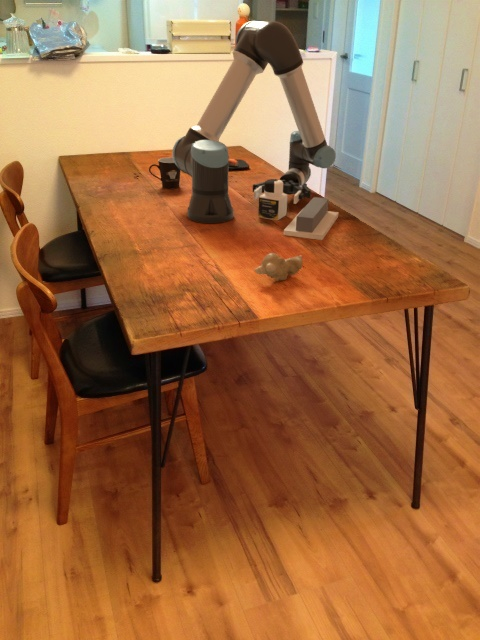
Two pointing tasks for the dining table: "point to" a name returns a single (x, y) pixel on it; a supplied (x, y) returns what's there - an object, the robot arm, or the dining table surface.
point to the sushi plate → (237, 164)
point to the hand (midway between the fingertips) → (274, 197)
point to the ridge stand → (312, 220)
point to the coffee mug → (168, 173)
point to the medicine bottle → (273, 200)
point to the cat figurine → (279, 266)
